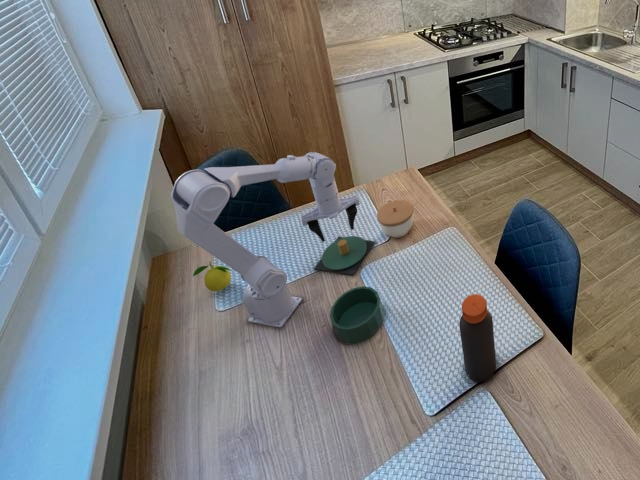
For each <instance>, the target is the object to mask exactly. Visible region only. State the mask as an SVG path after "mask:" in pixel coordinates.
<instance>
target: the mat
mask: <svg viewBox="0 0 640 480" xmlns="http://www.w3.org/2000/svg"><path fill="white" fill-rule="evenodd" d="M341 238H344V237H343V236H338V237H337V238H336V240H335V241H337V240H339V239H341ZM364 240H365V239H364ZM365 242H366V244H367V250H366V253H365V255H364V256H363V258H362V259H361V260H360V261H359V262H357V263H356V264H355V265H353V266H351V267H349V268H346V269H342V270H331V269H328V268H326V267H325V266H324V265H323V262H322V258H320V259H319V261H318V263H317V264H316V265H315V266H314V268H313V270H315V271H319V272H320V271H321V272H327V273H331V274H340V275H347V276H352V277H353V276H354V275H355V274H356V272H357V271H358V269H359V268H360V266H361V265H362V263H363V261H364V260H365V259H366V257H367V256H368V254H369V253H370V251H371V249H372V248H373V246H374V245H375V244H376V242H375V241H374V240H373V241H372V240H365Z"/></svg>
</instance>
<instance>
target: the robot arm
mask: <svg viewBox="0 0 640 480" xmlns="http://www.w3.org/2000/svg"><path fill="white" fill-rule="evenodd" d="M336 170H337V163H335V162H334V160H333V159H332V158H330V157H328V156H326V155H324V154H322V153H320V152H316V151H309V152H308V153H306V154H305V155H302V156H295V155H293V154H287V155H286V157H283V158H279V159H277V161H276V162H275V163H274V164H273V163H271V164H259V165H258V164H255V165H242V166H210V167H206V168H204V169H191V170H190V169H189V170H188V171H185V172H183V173H182V174H180V176H178V178H176V180H175V181H174V185H173V187H172V190H171V193H170V198H171V201H172V204H173V207H174V211H175V212H174V213H175V218H176V225H177V229H178V231H179V233H180V234H182V235H183V236H184V237H185V238H187V239H188V240H189V241H191V242H193V244H195V245H197V246H198V247H200V248H201V249H202V250H204V251H206V252H207V253H209V254H210V255H211V256H213V257H214V258H216V259H217V260H218V261H220V262H222V263H223V264H225V265H226V266H228V267H229V269H232V271H234V272H236V273H238V274H239V275H240V278H241V280H243V282H245V283H247V284H248V285H247V286H246V287H245V289H244V291H243V295H242V301H243V304H244V306H245V308H246V310H247V312H248V314H249V318H248V319H247V321H248V322H249V323H254V324H258V325H264V326H269V327H275V328H283V326H284V325H285V323H286V322H287V321H288V319H289V318H290V317H291V316H292V314H293V313H294V312H295V310H296V309H297V307H298V306H299V305H300V303H301V302H302V300H303V299H302V297H298V296H293V295H292V294H291V291H290V288H289V286H288V283H287V282H288V275H287V272H286V271H284V270H282V269H281V268H279V267H278V266H276V264H274V263H273V262H271V260H269V259H268V257H266V256H264V255H257V254H254V253H253V252H252V251H250V250H249V249H248V248H246V247H245V246H244V245H242V244H241V243H240V242H238V241H237V240H235V238H233V237H232V236H230V235H229V234H228V233H227V232H225V231H224V230H222V229H221V228H220V227H219V226H217V225H216V224H215V222H216V220H217V219H218V218H219V216H220V214H221V213H222V211H223V210H224V208H225V207H226V205H227V203H228V202H229V200H230V197H231V198H235V197H236V196H237V194H238V192H239V191H240V190H241V187H243V186H247V185H253V184H257V183H262V182H267V181H273V180H276V181H277V182H279V183H281V184H285V183H292V182H297V181H305V180H309V183H310V187H311V190H312V193H313V197H314V200H315V204H316V208H314V209H312V210H311V211H309V212H307V213H305V214H303V215H300V220H301V223H302V224H301V225H302V227H306V226H308V229H309V231H311V232H312V233H314V234H315V235H316V236H318V238H319V239H320V240H321V242H322V243H324V242H326V239H325V236H324V233H323V231H322V229H321V225H320V223H319V220H322V219H328V218H329V220H332V219H335V218H337V217H338V216H339V214H340V213H341V212H343V211H345V212H346V216H347V221H348V225H349V228H350V230H351V231H353V230H354V229H355V220H356V216H357V214H358V208H357V206H360V204H361V203H360V199H359V197H358V195H354V196H350V197H344V198H341V197H340V194H339V190H338V186H337V182H336V177H335V172H336Z"/></svg>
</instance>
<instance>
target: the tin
mask: <svg viewBox="0 0 640 480" xmlns="http://www.w3.org/2000/svg"><path fill="white" fill-rule="evenodd" d="M329 318H330V323H331V325H332V327H333V331H334V334H335V336H336V338H337V340H338V341H340V342H341V343H343V344H347V345H355V344H356V345H357V344H360V343H363V342H365V341H367V340H368V339H370V338H371V337H373V336H374V335H375V334H376V333H377V332H378V331H379V329H380V328H381V326H382V324H383V321H384V307H383V304H382V300H381V297H380V295H379V292H378V291H377V290H376V289H375V288H372V287H370V286H363V285H362V286H358V287H357V286H356V287H353V288H351V289H349V290H347V291H345V292H343V293H342V294H341V295H340V296H339V297H338V298H337V299H336V300H335V302H334V303H333V304H332V306H331V309H330V313H329Z"/></svg>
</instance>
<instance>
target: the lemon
mask: <svg viewBox="0 0 640 480" xmlns="http://www.w3.org/2000/svg"><path fill="white" fill-rule="evenodd" d="M208 263H209V264H208V265H202V266H199V267H197V268H196V269H195V270H194V272H193V275H192V277H195V276H197V275H200V273H202V272H203V271H204V270H206V269H207V268H209V266H210V268H209V269H208V270H207V271H206V273H205V275H204V278H203V280H204V281H203V282H204V285H205V287H206V289H207V290H209V291H211V292H220V291H223V290H224V289H226V288H227V287H229V285H230V283H231V281H232V276H231V272H234V270H231V268H228V267H226V266H223V265H215V266H214V265H212V263H211V261H209V262H208ZM230 271H231V272H230Z"/></svg>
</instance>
